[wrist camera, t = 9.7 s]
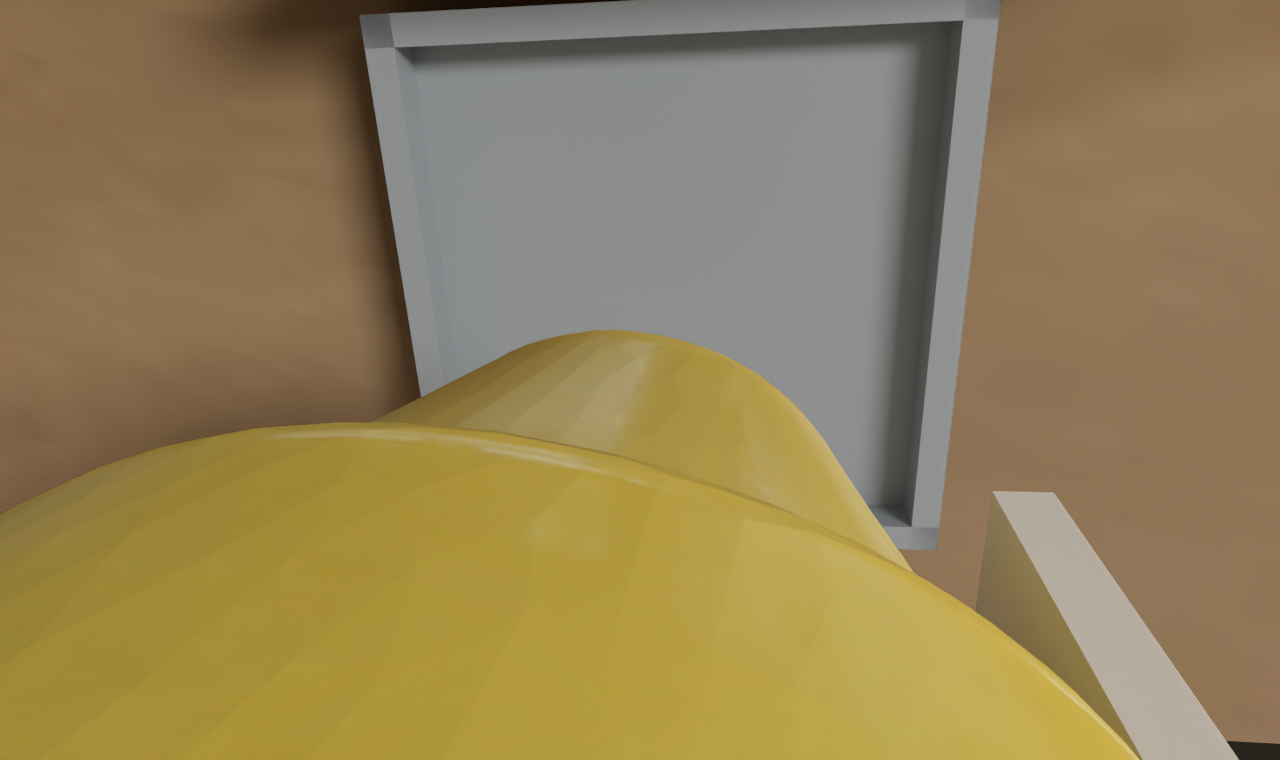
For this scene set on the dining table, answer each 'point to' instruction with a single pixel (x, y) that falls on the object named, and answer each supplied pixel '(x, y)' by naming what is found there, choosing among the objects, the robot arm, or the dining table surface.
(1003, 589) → the robot arm
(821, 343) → the tray
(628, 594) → the plant pot
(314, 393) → the dining table surface
